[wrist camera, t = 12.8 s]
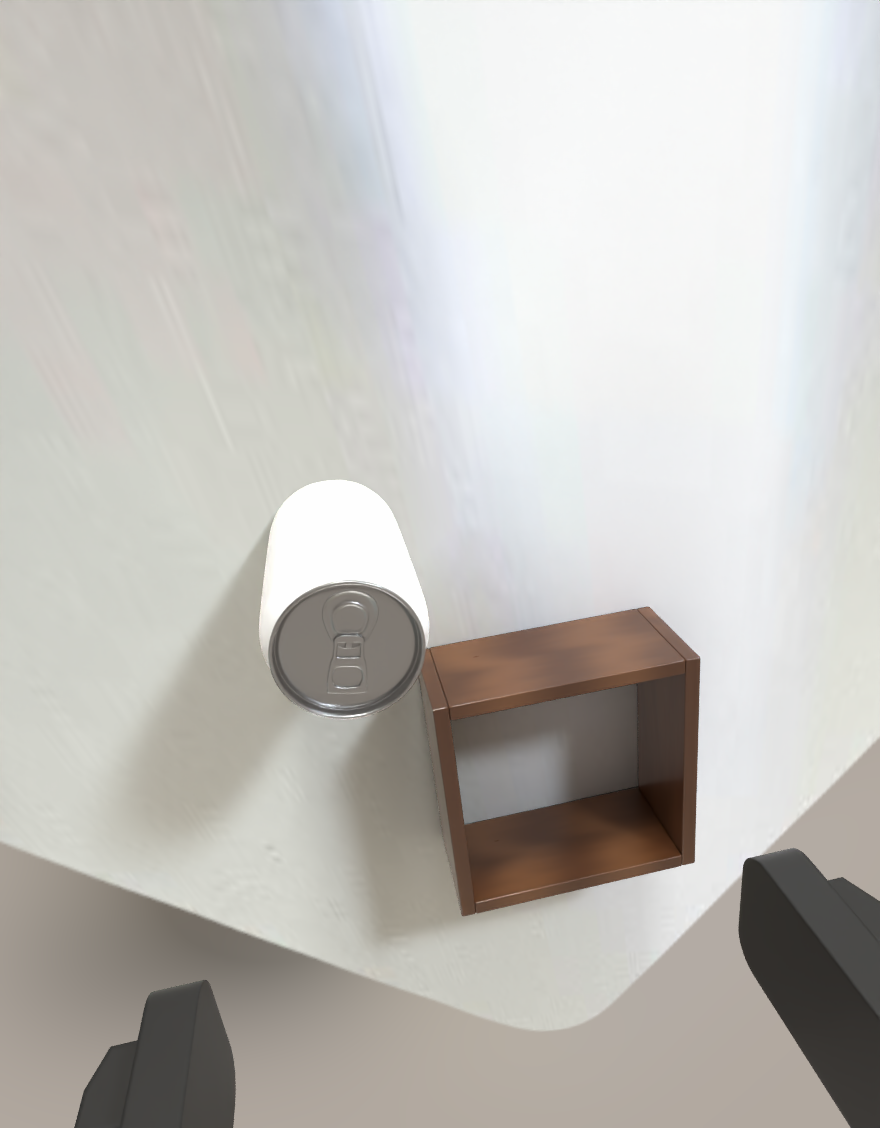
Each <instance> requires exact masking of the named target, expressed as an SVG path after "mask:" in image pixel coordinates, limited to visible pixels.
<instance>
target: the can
mask: <svg viewBox="0 0 880 1128" xmlns="http://www.w3.org/2000/svg"><path fill="white" fill-rule="evenodd" d="M259 639H260V646H261V650H262V654H263V657H264V659H265V661H266V664H267V665H268V667H269V669H270V670H271V673H272V676H273V678H274V680H275V682H276V684H277V686H278V687H279V689H280V690H281V691H282V693H283V694H284V695H285V696H286V697H287V698H288V699H289V700H290V701H291V702H293V703H294V704H295V705H297V706H298V707H300V708H301V709H303V710H305V711H307V712H309V713H312V714H314V715H317V716H321V717H325V718H330V719H356V718H362V717H366V716H370V715H373V714H375V713H378V712H380V711H382V710H384V709H386V708H388V707H390V706H391V705H393V704H394V703H396V702H397V701H398V700H400V699H401V698H402V697H403V696H404V695H405V694H406V693H407V692H408V691H409V690H410V688H411V687H412V686H413V684H414V683H415V681H416V680H417V678H418V676H419V674H420V672H421V669H422V666H423V663H424V659H425V651H426V647H427V644H428V639H429V615H428V610H427V606H426V602H425V599H424V596H423V593H422V590H421V587H420V584H419V581H418V579H417V576H416V573H415V570H414V567H413V565H412V562H411V559H410V556H409V554H408V551H407V548H406V546H405V543H404V540H403V538H402V535H401V532H400V530H399V527H398V525H397V522H396V520H395V517H394V515H393V513H392V512H391V510H390V508H389V507H388V506H387V504H386V503H385V502H384V501H383V500H382V499H381V498H380V497H379V496H378V495H377V494H376V493H374V492H373V491H371V490H370V489H368V488H366V487H365V486H363V485H360V484H358V483H355V482H352V481H346V480H328V481H322V482H317V483H313V484H310V485H308V486H305V487H303V488H301V489H300V490H298V491H297V492H295V493H294V494H293V495H291V496H290V497H289V498H288V499H287V500H286V501H285V502H284V503H283V505H282V506H281V507H280V509H279V510H278V512H277V514H276V516H275V518H274V520H273V523H272V526H271V530H270V536H269V542H268V550H267V557H266V565H265V573H264V582H263V590H262V599H261V608H260V619H259Z"/></svg>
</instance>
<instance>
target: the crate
mask: <svg viewBox="0 0 880 1128" xmlns="http://www.w3.org/2000/svg"><path fill="white" fill-rule="evenodd" d="M419 681H420V688H421V694H422V701H423V708H424V714H425V721H426V728H427V735H428V741H429V748H430V755H431V761H432V768H433V775H434V781H435V788H436V795H437V802H438V808H439V815H440V822H441V828H442V835H443V841H444V845H445V849H446V853H447V857H448V861H449V865H450V869H451V873H452V877H453V882H454V886H455V890H456V894H457V898H458V902H459V906H460V910H461V914H462V916H467V915H472V914H475V913H481V912H485V911H489V910H494V909H498V908H502V907H507V906H511V905H515V904H519V903H524V902H528V901H532V900H537V899H541V898H545V897H550V896H554V895H558V894H562V893H567V892H571V891H575V890H580V889H584V888H588V887H592V886H597V885H601V884H605V883H610V882H614V881H618V880H623V879H627V878H631V877H635V876H640V875H644V874H648V873H653V872H657V871H661V870H665V869H670V868H674V867H678V866H681V865H686V864H690V863H694V862H695V829H696V793H697V757H698V720H699V684H700V657H699V656H698V655H697V654H696V653H695V652H694V651H693V650H692V649H691V648H690V647H689V646H688V645H687V644H686V643H685V642H684V641H683V640H682V639H681V638H680V637H679V636H678V635H677V634H676V633H675V632H674V631H673V630H672V629H671V628H670V627H669V626H668V625H667V624H666V623H665V622H664V621H663V620H662V619H661V618H660V617H659V616H658V615H657V614H656V613H655V612H654V611H653V610H652V609H651V608H650V607H644V608H638V609H637V610H636V609H632V610H627V611H622V612H616V613H611V614H606V615H601V616H595V617H590V618H585V619H579V620H574V621H569V622H564V623H558V624H553V625H548V626H543V627H537V628H532V629H527V630H521V631H516V632H511V633H506V634H500V635H495V636H490V637H485V638H479V639H474V640H469V641H463V642H458V643H453V644H448V645H442V646H437V647H432V648H430V649H428V648H427V649H426V651H425V659H424V663H423V666H422V669H421V672H420V674H419ZM635 683H637V704H638V787H635V788H631V789H626V790H622V791H617V792H613V793H608V794H603V795H599V796H594V797H590V798H585V799H581V800H576V801H571V802H567V803H562V804H558V805H553V806H549V807H544V808H539V809H535V810H530V811H526V812H521V813H517V814H512V815H507V816H503V817H498V818H494V819H489V820H484V821H480V822H475V823H471V824H466V825H464V819H463V811H462V804H461V796H460V789H459V781H458V774H457V766H456V758H455V751H454V743H453V736H452V728H451V721H450V720H457V719H462V718H467V717H472V716H477V715H482V714H487V713H492V712H497V711H502V710H507V709H511V708H516V707H521V706H526V705H531V704H536V703H541V702H546V701H551V700H556V699H561V698H566V697H571V696H576V695H581V694H586V693H591V692H596V691H601V690H606V689H611V688H616V687H621V686H625V685H630V684H635Z"/></svg>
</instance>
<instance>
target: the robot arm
mask: <svg viewBox="0 0 880 1128" xmlns="http://www.w3.org/2000/svg"><path fill="white" fill-rule="evenodd" d="M739 938H740V943H741V946H742V950H743V953H744V956H745V959H746V961H747V963H748V965H749V967H750V969H751V971H752V973H753V975H754V976H755V978H756V980H757V981H758V983H759V984H760V986H761V987H762V989H763V991H764V992H765V994H766V995H767V997H768V998H769V1000H770V1001H771V1003H772V1005H773V1006H774V1008H775V1009H776V1011H777V1013H778V1014H779V1015H780V1017H781V1019H782V1020H783V1022H784V1023H785V1025H786V1027H787V1028H788V1030H789V1031H790V1033H791V1034H792V1036H793V1038H794V1039H795V1041H796V1042H797V1044H798V1046H799V1047H800V1049H801V1050H802V1052H803V1053H804V1055H805V1056H806V1058H807V1060H808V1061H809V1063H810V1064H811V1066H812V1067H813V1069H814V1071H815V1072H816V1074H817V1075H818V1077H819V1078H820V1080H821V1082H822V1083H823V1085H824V1086H825V1088H826V1090H827V1091H828V1093H829V1094H830V1096H831V1097H832V1099H833V1100H834V1102H835V1104H836V1105H837V1107H838V1108H839V1110H840V1111H841V1113H842V1115H843V1116H844V1118H845V1119H846V1121H847V1122H848V1124H849V1125H850V1127H851V1128H880V901H878V900H877V899H875V898H874V897H872V896H871V895H869V894H868V893H866V892H864V891H863V890H861V889H860V888H858V887H857V886H855V885H854V884H852V883H850V882H849V881H847V880H846V879H844V878H843V877H841V878H837V879H833V880H829V881H827V879H826V878H825V877H824V876H823V875H822V874H821V872H820V871H819V870H818V869H817V868H816V866H815V865H814V864H813V863H812V862H811V861H810V859H809V858H808V857H807V856H806V855H805V854H804V853H803V852H801V851H800V850H798V849H795V848H792V849H787V850H783V851H778V852H774V853H769V854H765V855H761V856H756V857H752V858H748V859H746V861H745V862H744V865H743V875H742V888H741V901H740V915H739ZM234 1110H235V1068H234V1061H233V1054H232V1050H231V1046H230V1043H229V1040H228V1037H227V1034H226V1031H225V1028H224V1025H223V1022H222V1019H221V1016H220V1013H219V1010H218V1007H217V1004H216V1001H215V998H214V995H213V992H212V989H211V986H210V984H209V982H208V981H207V980H202V981H198V982H193V983H189V984H185V985H180V986H176V987H171V988H167V989H163V990H158V991H154V992H152V993H150V995H149V996H148V998H147V1001H146V1004H145V1008H144V1012H143V1017H142V1022H141V1027H140V1032H139V1036H138V1040H137V1041H133V1042H129V1043H124V1044H121V1045H116V1046H112V1047H110V1049H109V1050H108V1052H107V1054H106V1055H105V1057H104V1059H103V1060H102V1062H101V1064H100V1065H99V1067H98V1068H97V1070H96V1072H95V1073H94V1075H93V1077H92V1079H91V1080H90V1082H89V1083H88V1085H87V1087H86V1088H85V1090H84V1093H83V1097H82V1101H81V1104H80V1108H79V1112H78V1116H77V1120H76V1124H75V1127H74V1128H233V1122H234Z"/></svg>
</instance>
